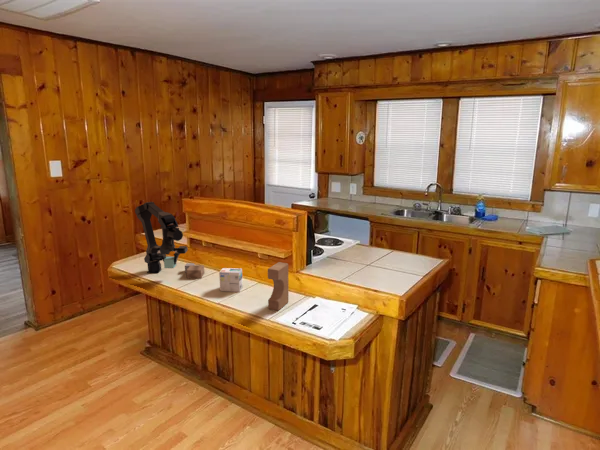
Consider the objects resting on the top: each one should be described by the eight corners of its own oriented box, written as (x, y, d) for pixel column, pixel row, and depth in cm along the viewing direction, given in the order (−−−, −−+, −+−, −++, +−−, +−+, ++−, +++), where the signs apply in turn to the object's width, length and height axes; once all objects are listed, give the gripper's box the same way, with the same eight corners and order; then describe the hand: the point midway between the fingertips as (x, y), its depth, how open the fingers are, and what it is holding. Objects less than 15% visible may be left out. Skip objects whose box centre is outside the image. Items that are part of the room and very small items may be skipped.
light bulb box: (243, 287, 213) (242, 268, 210) (240, 292, 207) (239, 272, 204) (223, 286, 214) (222, 267, 211) (219, 291, 208) (218, 271, 205)
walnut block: (187, 278, 225) (186, 270, 224) (190, 273, 233) (190, 265, 232) (201, 278, 225) (200, 270, 224) (204, 273, 233) (204, 265, 232)
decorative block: (278, 311, 185) (277, 270, 181) (267, 309, 188) (266, 268, 183) (289, 302, 195) (289, 263, 190) (278, 300, 198) (278, 261, 193)
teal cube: (164, 268, 219) (163, 259, 218) (167, 265, 224) (166, 256, 223) (173, 268, 219) (172, 259, 218) (176, 265, 224) (175, 256, 223)
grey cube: (185, 273, 233) (184, 265, 232) (187, 270, 237) (186, 263, 236) (192, 273, 233) (192, 265, 232) (194, 270, 238) (194, 263, 236)
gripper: (145, 241, 210) (148, 269, 214) (180, 241, 210) (182, 269, 213) (153, 235, 221) (155, 262, 224) (187, 235, 220) (188, 262, 224)
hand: (170, 264), depth 221 cm, fingers closed on teal cube, 5 cm apart
